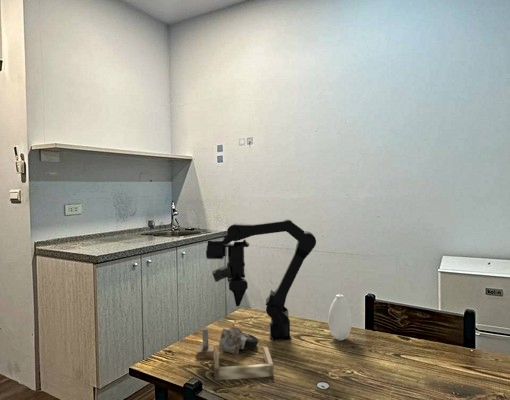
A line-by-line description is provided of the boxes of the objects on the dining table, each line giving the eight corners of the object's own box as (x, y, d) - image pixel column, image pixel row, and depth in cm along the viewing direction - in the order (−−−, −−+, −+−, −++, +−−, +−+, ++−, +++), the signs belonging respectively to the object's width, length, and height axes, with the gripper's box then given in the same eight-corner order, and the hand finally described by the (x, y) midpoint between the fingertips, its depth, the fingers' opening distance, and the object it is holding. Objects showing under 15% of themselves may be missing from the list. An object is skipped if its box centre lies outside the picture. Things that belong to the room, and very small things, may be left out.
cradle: (267, 356, 113) (267, 346, 113) (273, 376, 101) (273, 365, 101) (214, 359, 111) (214, 350, 111) (214, 380, 99) (214, 369, 99)
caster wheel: (257, 350, 123) (251, 360, 113) (226, 341, 125) (217, 349, 115) (261, 331, 123) (256, 338, 113) (230, 322, 125) (222, 328, 116)
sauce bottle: (354, 337, 126) (354, 286, 126) (347, 345, 119) (347, 292, 119) (333, 333, 130) (332, 283, 130) (325, 340, 124) (324, 288, 123)
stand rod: (213, 350, 117) (213, 326, 117) (213, 357, 112) (213, 332, 112) (198, 351, 117) (197, 326, 117) (197, 358, 112) (196, 333, 112)
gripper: (213, 255, 136) (214, 296, 137) (213, 265, 118) (214, 312, 118) (242, 254, 138) (243, 294, 138) (247, 264, 119) (248, 311, 120)
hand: (236, 302), depth 128 cm, fingers open, 7 cm apart
